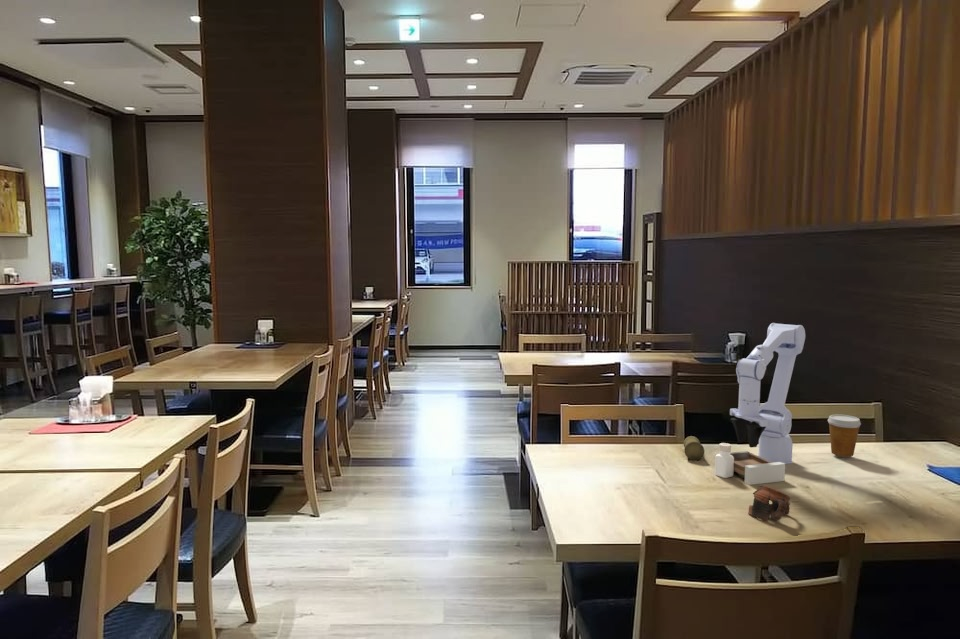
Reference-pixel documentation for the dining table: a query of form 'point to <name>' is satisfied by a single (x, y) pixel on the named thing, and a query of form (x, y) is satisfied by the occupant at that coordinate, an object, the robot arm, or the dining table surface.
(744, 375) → the robot arm
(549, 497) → the dining table surface
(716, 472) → the pepper shaker
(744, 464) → the brown wooden square tray
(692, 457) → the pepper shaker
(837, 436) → the disposable coffee cup
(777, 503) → the pottery mug
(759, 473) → the block
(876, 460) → the dining table surface
